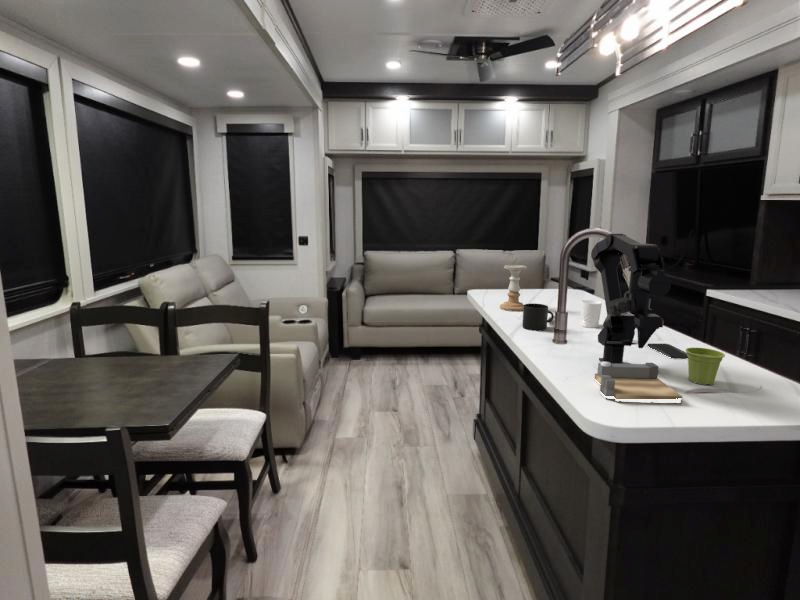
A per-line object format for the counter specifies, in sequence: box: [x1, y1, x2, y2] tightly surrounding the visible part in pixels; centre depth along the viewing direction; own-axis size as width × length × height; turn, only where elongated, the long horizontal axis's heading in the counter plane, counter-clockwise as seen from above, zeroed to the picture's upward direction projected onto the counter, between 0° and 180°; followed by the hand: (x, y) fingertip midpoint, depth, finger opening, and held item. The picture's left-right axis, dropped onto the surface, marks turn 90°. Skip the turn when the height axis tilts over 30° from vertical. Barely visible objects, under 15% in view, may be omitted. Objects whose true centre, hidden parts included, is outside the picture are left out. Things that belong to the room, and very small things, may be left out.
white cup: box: [580, 299, 603, 329], centre depth 203 cm, size 8×8×10 cm
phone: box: [646, 343, 688, 359], centre depth 169 cm, size 8×1×15 cm
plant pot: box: [685, 346, 726, 385], centre depth 140 cm, size 9×9×9 cm
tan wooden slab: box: [594, 373, 683, 399], centre depth 133 cm, size 16×18×5 cm
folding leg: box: [597, 361, 660, 379], centre depth 138 cm, size 15×3×4 cm, turn 88°
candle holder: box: [499, 264, 528, 312], centre depth 235 cm, size 12×12×20 cm
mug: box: [522, 303, 554, 332], centre depth 199 cm, size 9×12×9 cm
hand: (634, 343), depth 142 cm, fingers open, 8 cm apart
